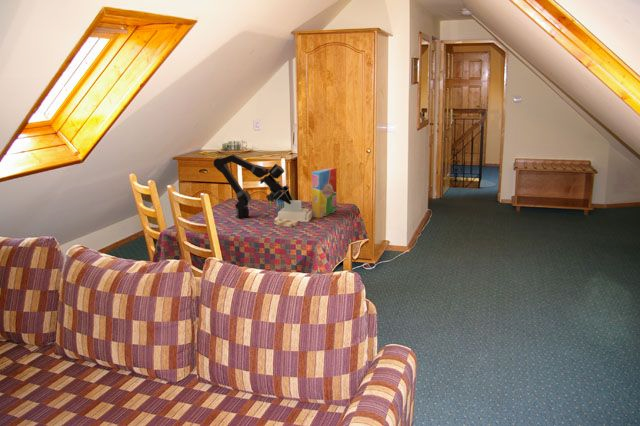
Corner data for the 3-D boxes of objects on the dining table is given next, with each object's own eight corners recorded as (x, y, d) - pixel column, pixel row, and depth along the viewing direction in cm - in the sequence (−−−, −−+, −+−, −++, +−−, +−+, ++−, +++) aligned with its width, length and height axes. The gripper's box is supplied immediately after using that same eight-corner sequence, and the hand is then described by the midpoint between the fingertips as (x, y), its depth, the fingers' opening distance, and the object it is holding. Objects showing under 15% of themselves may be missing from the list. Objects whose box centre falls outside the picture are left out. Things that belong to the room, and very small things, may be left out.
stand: (274, 224, 325) (274, 220, 324) (281, 222, 329) (281, 218, 329) (291, 227, 318) (291, 223, 317) (297, 224, 323) (297, 221, 322)
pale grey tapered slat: (284, 217, 337) (284, 200, 334) (285, 216, 338) (284, 200, 336) (301, 217, 335) (300, 201, 333) (301, 217, 337) (301, 200, 334)
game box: (319, 218, 337) (319, 172, 331) (311, 217, 340) (311, 172, 334) (336, 211, 355) (336, 167, 348) (329, 210, 357) (328, 167, 351)
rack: (274, 220, 333) (274, 212, 332) (279, 215, 344) (279, 207, 343) (308, 221, 330) (308, 213, 328) (312, 216, 341) (312, 208, 340)
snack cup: (294, 209, 361) (294, 193, 359) (296, 213, 351) (296, 196, 349) (269, 210, 359) (269, 194, 357) (270, 214, 349) (270, 197, 347)
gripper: (267, 190, 345) (285, 208, 346) (259, 196, 328) (278, 215, 328) (279, 177, 342) (298, 196, 343) (272, 183, 324) (291, 202, 325)
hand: (291, 202), depth 335 cm, fingers open, 5 cm apart
